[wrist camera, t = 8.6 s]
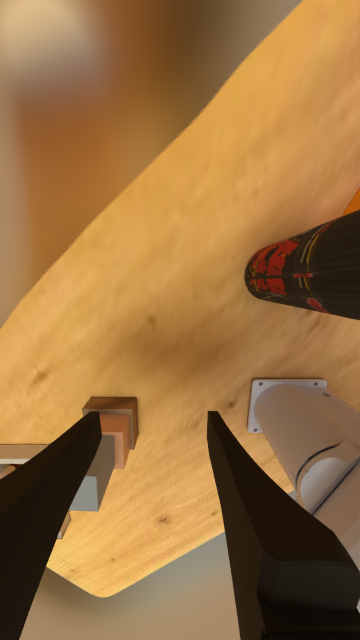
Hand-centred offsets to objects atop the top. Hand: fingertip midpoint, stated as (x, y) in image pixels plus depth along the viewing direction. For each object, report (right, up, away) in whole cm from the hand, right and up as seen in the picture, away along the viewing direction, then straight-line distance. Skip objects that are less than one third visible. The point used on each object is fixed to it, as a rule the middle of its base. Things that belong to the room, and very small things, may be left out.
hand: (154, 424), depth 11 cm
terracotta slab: (-7, -7, +10) cm, 14 cm away
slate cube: (-7, -7, +8) cm, 13 cm away
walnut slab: (-7, -6, +12) cm, 16 cm away
